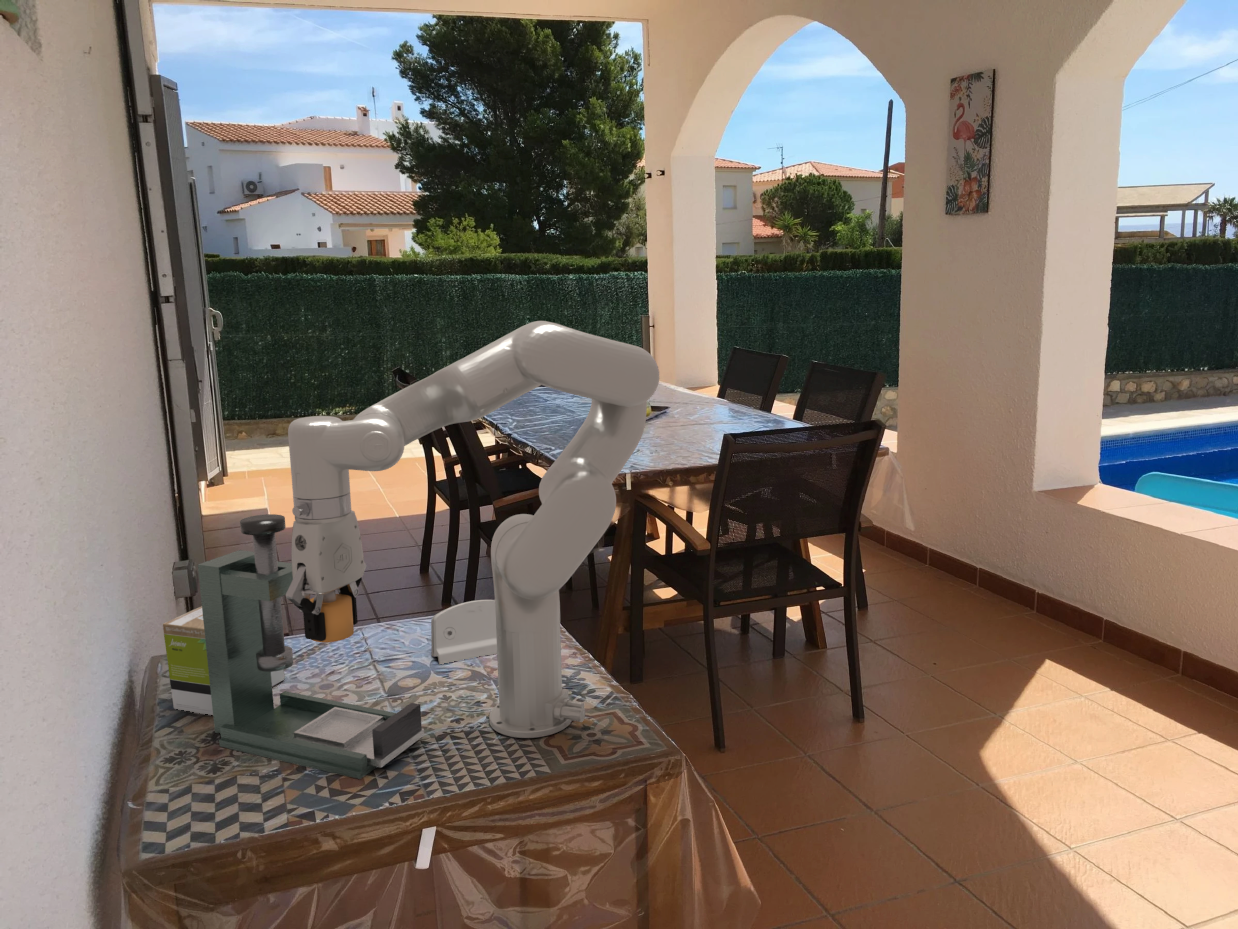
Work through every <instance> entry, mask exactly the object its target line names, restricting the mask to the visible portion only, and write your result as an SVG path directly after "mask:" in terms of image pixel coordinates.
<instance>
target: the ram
mask: <svg viewBox="0 0 1238 929" xmlns="http://www.w3.org/2000/svg"><path fill="white" fill-rule="evenodd" d="M285 518H286V517H285V515H281V514H276V513H275V514H274V513H273V514H271V513H270V514H257V515H253V516H252V515H251V516H247V517H244V518H242V519H240V520H239V526H240V527H239V528H240V533H241V534H242V535H247V536H252V541H253V542H252V543H253V552H254V556H255V567H256V574H263V575H269V574H272V573H274V572H277V571H278V562H279V561H278V553H277V542H276V540H277V539H276V534H277V533H279V532H282V531H284V530H285V529H286V528H287V527H286V519H285ZM277 561H278V562H277ZM259 611H260V622H261V633H262V644H263V649H262V650H260V651H258V652H257V653H256V659H257V668H258V670H260V671H264V672H273V671H280V670H283V669H284V670H286V669H289V668H290V667H292V666H293V665H294V654H293V648H292V647H291V646H288V645H285V634H284V623H283V612H282V599H281V597H279V598H277V599H275V600H272V601H264V600H259Z"/></svg>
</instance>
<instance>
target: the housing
mask: <svg viewBox="0 0 1238 929" xmlns="http://www.w3.org/2000/svg"><path fill="white" fill-rule="evenodd" d="M310 601H311V602H312V603H313V601H314V597H312V598H310ZM320 612H323V613H324V615H325V628H326V639H325V640H324V641H317V640H312V642H313V641H314V642H316V643H334V642H341V641H343V640H346V639H348V638H351V637H352V636H353V635H354V633H355V629H354V625H353V613H352V599H351V597H350V596H348V595H345V594H339V593H336V590H334V591H332V592H330V593H327V594H324V595H323V601H322V606H321V611H320Z"/></svg>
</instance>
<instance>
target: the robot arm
mask: <svg viewBox="0 0 1238 929" xmlns="http://www.w3.org/2000/svg"><path fill="white" fill-rule="evenodd" d="M659 383H660V370H659V366H658V364H657V361H656V360H655V358H654V357H653V356H652V354H650V353H649V351H647V350H646V349H644V348H642V347H640V346H637V345H633V344H631V343H630V344H629V343H626V342H621V341H617V340H614V339H611V338H610V339H609V338H606V337H602V336H599V335H595V334H591V333H587V332H584V331H581V330H577V329H574V328H572V327H568V326H565V325H562V324H560V323H556V322H551V321H546V320H537V321H531V322H529V323H527V324H525V325H522V326H520V327H518V328H517V329H514V330H513V331H510V332H509V333H507V334H505V335H503V336H502V337H500V338H498V339H496V340H495V341H492V342H490V343H489V344H487V345H484V346H483V347H481V348H479V349H478V350H476V351H474V352H472V353H470V354H468V355H466V356H465V357H462V358H460V359H458V360H457V361H454V362H452V363H451V364H449V365H447V366H445V367H443V368H441V369H439V370H437V371H435V372H434V373H432V374H430V375H428V376H427V377H425V378H423V379H421V380H420V379H419V380H418V381H416V382H414V383H412V384H410V385H408V386H406V387H405V388H402V389H400V390H399V391H397V392H395V393H393V394H391V395H389V396H387V397H385V398H384V399H382V400H380V401H378V402H377V403H374V404H372V405H371V406H368V407H366V408H365V409H364V410H362V411H361V412H359V413H358V414H356V416H355V417H354V418H353V419H351V420H342V419H341V418H339V417H336V416H330V415H328V416H327V415H316V416H305V417H299V418H296V419H294V420H293V421H291V422H290V424H289V425H288V430H287V435H288V436H287V437H288V449H289V450H288V451H289V462H290V463H289V464H290V473H291V474H290V475H291V487H292V500H293V508H292V514H293V516H294V521H293V523H292V533H291V555H290V556H291V563H292V576H293V580H292V583H291V585H290V587H289V589H288V591H287V593H286V595H285V598H286V599H287V600H288V601H289V602H291V603H292V604H293V605H294V606H295V607H296V608H297V609H298V611H299V612H300V613H303V614H302V615H303V628H304V637H305V639H307V640H311V641H313V640H317V641H324V640H325V639H326V628H325V615H324V613H323V612H320V611H321V606H322V601H323V595H324V594H327V593H330V592H332V591H334V590H335V591H337V594H345V595H348V596H350V597H351V599H352V613H353V626H355V625H357V624H358V607H357V596H359V592H360V591H359V590H360V589H359V587H360V585H361V582H362V577H363V576H364V574H365V571H366V569H367V564H368V563H366V562H365V560H364V557H365V556H364V550H363V542H362V535H361V531H360V525H359V522H358V518H357V515H356V512H355V511H354V510H352V500H351V499H352V498H351V497H352V496H351V486H350V483H351V482H350V470H351V471H360V472H361V471H363V472H381V471H386V470H388V469H390V468H392V467H394V466H395V465H396V464H398V462H399V461H400V460H401V458H402V456H403V453H404V450H405V447H406V446H407V445H409V444H411V443H413V442H415V441H417V440H418V439H421V438H422V437H424V436H426V435H428V434H430V433H432V432H434V431H437V430H439V429H441V428H443V427H446V426H449V425H453V424H459V423H466V422H468V423H469V422H471V421H476V420H478V419H480V418H484V417H485V416H488V415H489V414H491V413H493V412H495V411H497V410H498V409H500V408H502V407H503V406H505V405H506V404H509V403H511V402H512V401H514V400H516V399H518V398H519V397H521V396H523V395H525V394H526V393H529V392H531V391H533V390H535V389H537V388H538V387H540V386H543V387H546V388H550V389H554V390H557V391H559V392H563V393H567V394H570V395H575V396H579V397H583V398H586V399H590V400H591V403H590V408H589V411H588V413H587V416H586V418H585V420H584V421H583V423H582V424H581V426H580V427H579V429H578V430H577V432H576V433H575V435H574V436H573V437H572V439H571V440H570V442H568V444H567V445H566V447H564V449H563V450H562V452H561V453H559V454H560V455H559V456H557V458H556V459H555V460H554V462H553V463H552V464H551V466H550V467H548V469H547V470H546V472H545V473H544V475H543V476H542V477H541V480H540V482H539V486H538V496H539V500H540V502H541V505H540V506H539V508H538V509H537V510H536V511H535V513H534V515H533V514H529V513H528V514H527V513H520V514H515V515H514V514H513V515H512V516H509V517H508V518H506V519H505V520H504V521H503V522H501V523H500V524H499V526H498V527H497V528H496V529H495V531H494V534H493V536H492V538H491V540H492V541H491V544H490V546H491V547H490V560H491V561H490V562H491V563H490V564H491V569H492V570H491V571H492V580H493V591H494V592H493V594H494V600H495V613H496V638H497V654H496V656H497V660H496V661H497V662H496V663H497V680H498V682H497V683H498V703H497V704H496V705H495V706H494V707H493V708H492V709H491V710H490V712H489V715H488V718H489V725H490V727H491V728H492V729H493V731H496V732H497V733H499V734H501V735H504V736H506V737H507V736H508V737H510V738H518V739H535V738H542V737H546V736H550V735H553V734H556V733H558V732H559V733H560V732H561V731H563V730H565V728H567V727H568V726H569V725H570V724H571V723H572V721H573V722H578V723H579V722H580V723H583V721H584V720H585V718H586V710H585V702H583V701H576V700H575V701H574V700H571V698H570V696H569V689H568V688H563V680H562V679H563V678H562V642H561V639H562V638H561V637H562V636H561V602H560V590H561V589H562V587H564V585H565V584H566V583H567V582H568V581H569V580H570V578H571V577H573V575H574V574H575V572H576V571H577V570H578V568H579V567H580V566H581V565H582V563H583V562H584V561H585V559H586V558H587V556H589V554H590V553H591V551H592V550H593V549H594V547H595V546H596V545H597V543H598V542H599V540H601V538H602V537H603V536H604V534H605V533H606V531H607V529H608V528H609V527H610V525H611V523H612V520H613V518H614V516H615V512H616V507H617V495H616V490H615V489H614V485H613V482H614V481H615V480H616V478H617V477H618V475H619V473H621V472H622V470H623V468H624V466H625V465H626V463H627V462H628V461H629V459H630V458H631V457H632V455H633V454H634V452H635V450H636V449H637V447H638V445H639V443H640V441H641V439H642V437H643V435H644V434H643V433H644V430H645V427H646V420H647V411H648V410H647V409H648V408H647V406H648V405H647V401H649V400H650V399H651V397H653V396H654V394H655V393H656V391H657V389H658V387H659V385H660V384H659ZM311 595H314V596H313V598H314V601H313V603H312V602H311V601H310V599H311Z"/></svg>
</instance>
